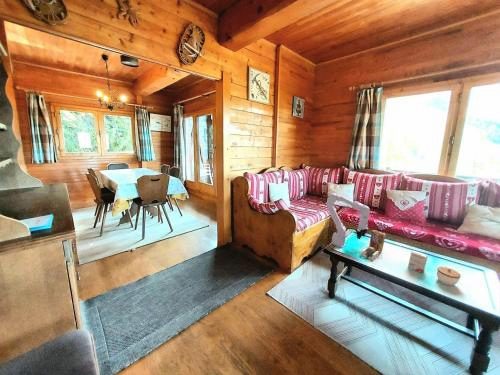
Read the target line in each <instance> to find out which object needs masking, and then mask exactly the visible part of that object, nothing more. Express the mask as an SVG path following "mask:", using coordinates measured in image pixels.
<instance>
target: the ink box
mask: <svg viewBox="0 0 500 375" xmlns="http://www.w3.org/2000/svg"><path fill="white" fill-rule="evenodd" d="M428 256H429V255H428V254H425V253H421V252H419V251H417V250H412V251H411V253H410V256H409V261H408V265H407V268H408V269H411V270H414V271H416V272H419V273H421V274H423V273H424V272H425V268H426V265H427V261H428Z"/></svg>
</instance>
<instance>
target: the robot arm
mask: <svg viewBox="0 0 500 375" xmlns="http://www.w3.org/2000/svg"><path fill="white" fill-rule="evenodd" d="M326 200H327V201H326V204H325V206H326V208H327V210H328V212H329V214H330V216H331V219H332V220H333V223H334V224H335V229H336V232H333V234H332V237H331V243H330V244H332V245H334V246H337V247H339V248H344V247H345V246H347V244H346V236H347V234H346V233H347V228H346V226H345V225H344V224H343V222H342V220H341V219H340V217H339V215H338V213H337V210H336V209H335V206H334V204H335V202H343V203H345V204H347V205H350V206H351V208H352V209H353V210H356V211H358V212H360V215H359V221H358V226H357V228H356V229H355V233H356V238H357V239H358V240H361V238H362V237H365V236H366V234H367V232H368V231H369V229H370V228H369V225H368V222H369V218H370V217H369V215H370V214H371V211H370V207H369V206H368V205H365V204H363V203H360V202H359V201H358V200H357V201H356V200H354V201H353V200H351V199H349V198H347V197H345V196H344V195H341V194H340V193H338V192H335V191H332V192H330V193H329V194H328V197H327V199H326Z"/></svg>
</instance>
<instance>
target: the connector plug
mask: <svg viewBox="0 0 500 375" xmlns="http://www.w3.org/2000/svg"><path fill="white" fill-rule="evenodd" d="M368 247H369V246H368ZM375 252H376V251H375V249H374V248H373V247H369V248H367V254H366V255H368V256H367V257H365V258H366V259H369V258H368V257H369V256H370V257H372V256H373V254H374V253H375Z"/></svg>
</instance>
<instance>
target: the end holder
mask: <svg viewBox="0 0 500 375" xmlns="http://www.w3.org/2000/svg"><path fill="white" fill-rule="evenodd" d="M367 248H369V246H367V247H365V248H364V249H362V250H361V251H362V255H361V256H362V257H363V258H366V257H367V256H368V255H364V254H365V252H366V251H367ZM378 257H379V251H375V253H374V254H373V256H372V257H370V256H369V257H368V258H367V259H369V260H372V261H375V260H376V259H377V258H378Z"/></svg>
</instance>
